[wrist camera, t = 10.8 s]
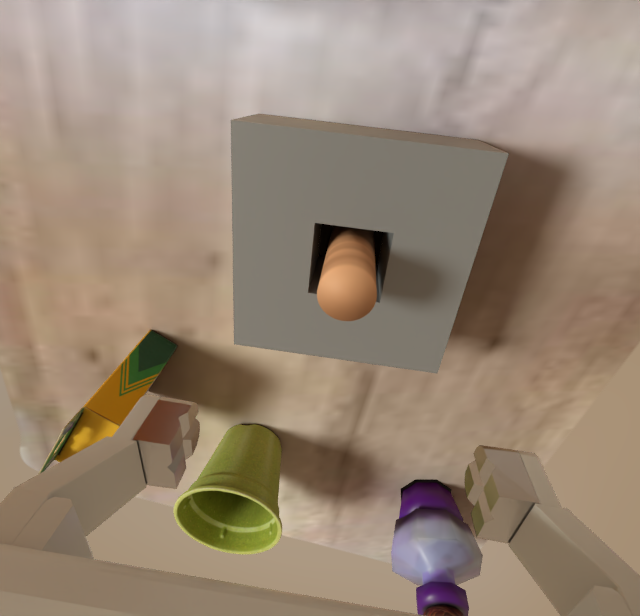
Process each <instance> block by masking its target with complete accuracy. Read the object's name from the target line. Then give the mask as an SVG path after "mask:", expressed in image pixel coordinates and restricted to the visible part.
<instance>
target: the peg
mask: <svg viewBox="0 0 640 616" xmlns="http://www.w3.org/2000/svg"><path fill="white" fill-rule="evenodd" d="M317 299H318V302H319V305H320V307H321V308H322V310H323V311H324V312H325V313H326V314H328V315H329V316H330V317H332V318H334V319H337V320H341V321H354V320H358V319H361V318H363V317H364V316H366V315H367V314H368V313H369V312H370V311H371V310H372V309H373V307H374V305H375V303H376V299H377V288H376V269H375V250H374V230H366V229H358V228H351V227H343V226H335V225H333V228H332V232H331V236H330V240H329V244H328V248H327V253H326V257H325V261H324V265H323V269H322V273H321V277H320V281H319V285H318V289H317Z"/></svg>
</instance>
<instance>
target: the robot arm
mask: <svg viewBox="0 0 640 616" xmlns="http://www.w3.org/2000/svg"><path fill="white" fill-rule="evenodd" d="M197 413H198V405H197V403H195V402H190V401H185V400H179V399H174V398H168V397H161V396H155V395H149V394H145V395H144V396H142V397H141V398H140V399H139V401H138V402H137V403H136V405H135V406H134V407H133V409H132V410H131V412H130V413H129V414H128V416H127V417H126V419H125V420H124V421H123V423H122V424H121V425H120V427H119V428H118V430H117V431H116V432H115V434H114V435H113V436H112V437H108V436H107V437H105V438H103V439H101V440H99V441H98V442H96V443H94V444H92V445H90V446H89V447H87V448H85V449H83V450H81V451H80V452H78V453H76V454H74V455H72V456H71V457H69V458H67V459H65V460H63V461H62V462H60V463H58V464H56V465H54V466H53V467H51V468H49V469H47V470H45V471H44V472H42V473H40V474H38V475H36V476H35V477H33V478H31V479H29V480H27V481H26V482H24V483H22V484H20V485H18V486H17V487H15V488H14V489H13V490H12V491H11V492H10V493H9V494H8V495H7V496H6V498H5V499H4V500H3V501H2V502H1V503H0V616H424V615H418V614H412V613H407V612H400V611H395V610H389V609H383V608H377V607H372V606H366V605H360V604H354V603H348V602H342V601H336V600H331V599H325V598H319V597H312V596H307V595H301V594H295V593H289V592H284V591H278V590H272V589H266V588H259V587H254V586H248V585H243V584H237V583H231V582H225V581H219V580H213V579H207V578H201V577H196V576H189V575H184V574H178V573H172V572H166V571H160V570H154V569H149V568H143V567H137V566H131V565H125V564H119V563H113V562H108V561H101V560H96V559H93V555H92V551H91V549H90V546H89V544H88V541H87V539H86V536H87V535H88V534H90V533H91V532H92V531H93V530H95V529H96V528H97V527H98V526H99V525H101V524H102V523H103V522H104V521H105V520H106V519H108V518H109V517H110V516H112V515H113V514H114V513H115V512H116V511H118V510H119V509H120V508H121V507H122V506H124V505H125V504H126V503H127V502H128V501H130V500H131V499H132V498H133V497H135V496H136V495H137V494H138V493H139V492H141V491H142V490H143V489H144V488H146V485H150V486H158V487H166V488H173V489H177V486H178V484H179V482H180V480H181V478H182V476H183V474H184V472H185V470H186V462H185V460H186V459H187V458H189V457H190V456H191V455H193V453H194V450H195V448H196V446H197V442H198V438H199V432H200V424H199V421H198V420H197V419H196V418H195V417H196V415H197ZM474 457H475V461H473V462H471V463H470V464H469V465H468V467H467V470H466V473H465V491H466V495H467V498H468V500H469V501H470V502H471V503H472V504H473V505H474V508H473V510H472V512H471V516H472V520H473V524H474V528H475V532H476V536H477V538H482V539H488V540H493V541H498V542H504V543H509V547H510V548H511V549H512V551H513V552H514V553H515V555H516V556H517V557H518V559H519V560H520V561H521V563H522V564H523V566H524V567H525V568H526V569H527V571H528V572H529V574H530V575H531V576H532V577H533V579H534V580H535V582H536V583H537V584H538V586H539V587H540V588H541V590H542V591H543V593H544V594H545V595H546V596H547V598H548V599H549V601H550V602H551V603H552V605H553V606H554V607H555V609H556V610H557V611H558V613H559V614H560V615H561V616H640V575H639V574H638V573H637V572H635V571H634V570H633V569H632V568H631V567H630V566H629V565H628V564H627V563H626V562H625V561H624V560H622V559H621V558H620V557H619V556H618V555H617V554H616V553H615V552H614V551H613V550H612V549H611V548H609V547H608V546H607V545H606V544H605V543H604V542H603V541H602V540H601V539H600V538H599V537H597V535H595V534H594V533H593V532H592V531H591V530H590V529H589V528H588V527H587V526H586V525H585V524H584V523H583V522H581V521H580V520H579V519H578V518H577V517H576V516H575V515H574V514H573V513H572V512H570V510H569V509H566V508H562V507H561V505H560V502H559V500H558V498H557V496H556V494H555V492H554V490H553V487H552V486H551V483H550V481H549V479H548V477H547V475H546V473H545V470H544V468H543V466H542V464H541V462H540V460H539V458H538V456H537V455H536V454H535V453H531V452H524V451H517V450H511V449H504V448H497V447H490V446H483V445H479V446H478V447H477V448H476V449H475V452H474Z"/></svg>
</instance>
